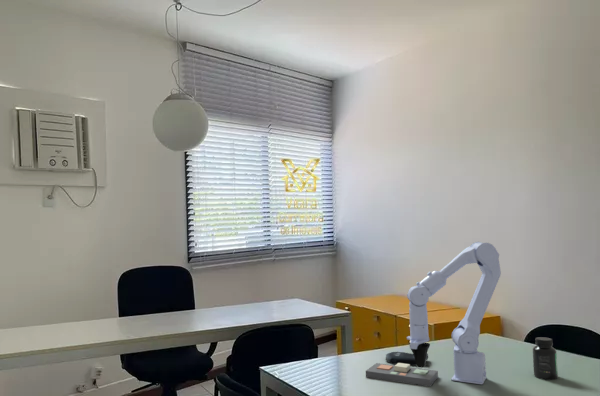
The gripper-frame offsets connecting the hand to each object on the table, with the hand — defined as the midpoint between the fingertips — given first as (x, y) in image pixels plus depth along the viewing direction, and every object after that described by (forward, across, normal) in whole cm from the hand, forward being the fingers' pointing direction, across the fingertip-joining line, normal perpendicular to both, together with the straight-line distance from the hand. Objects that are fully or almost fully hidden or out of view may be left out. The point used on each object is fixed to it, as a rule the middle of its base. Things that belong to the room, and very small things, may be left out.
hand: (420, 366), depth 153 cm
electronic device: (+4, -17, -10) cm, 20 cm away
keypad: (+4, +1, -6) cm, 7 cm away
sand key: (+2, 0, -6) cm, 6 cm away
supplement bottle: (+4, -19, +35) cm, 40 cm away
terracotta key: (+3, 0, -12) cm, 12 cm away
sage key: (+3, 0, 0) cm, 3 cm away
